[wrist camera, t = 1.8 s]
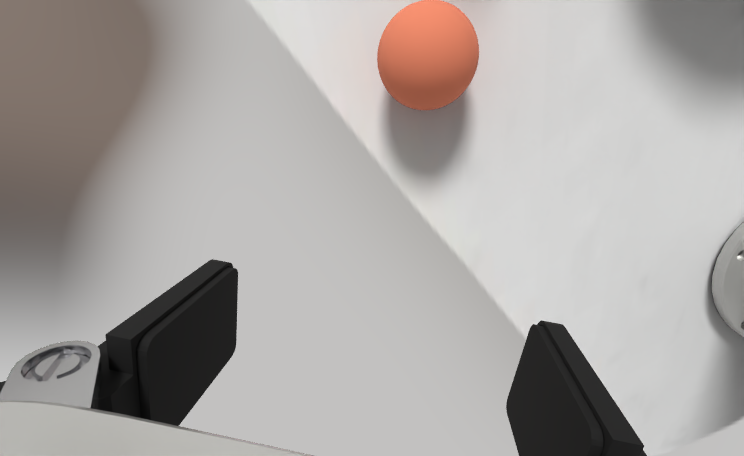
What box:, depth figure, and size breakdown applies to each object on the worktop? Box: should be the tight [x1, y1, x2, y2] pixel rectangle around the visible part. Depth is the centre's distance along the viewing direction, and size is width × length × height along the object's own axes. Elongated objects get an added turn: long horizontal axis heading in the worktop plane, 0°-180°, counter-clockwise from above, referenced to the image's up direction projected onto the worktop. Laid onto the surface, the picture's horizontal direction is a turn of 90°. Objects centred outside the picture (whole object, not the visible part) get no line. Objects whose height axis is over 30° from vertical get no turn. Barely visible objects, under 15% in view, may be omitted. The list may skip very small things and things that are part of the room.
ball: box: [377, 0, 479, 110], centre depth 22 cm, size 6×6×6 cm
